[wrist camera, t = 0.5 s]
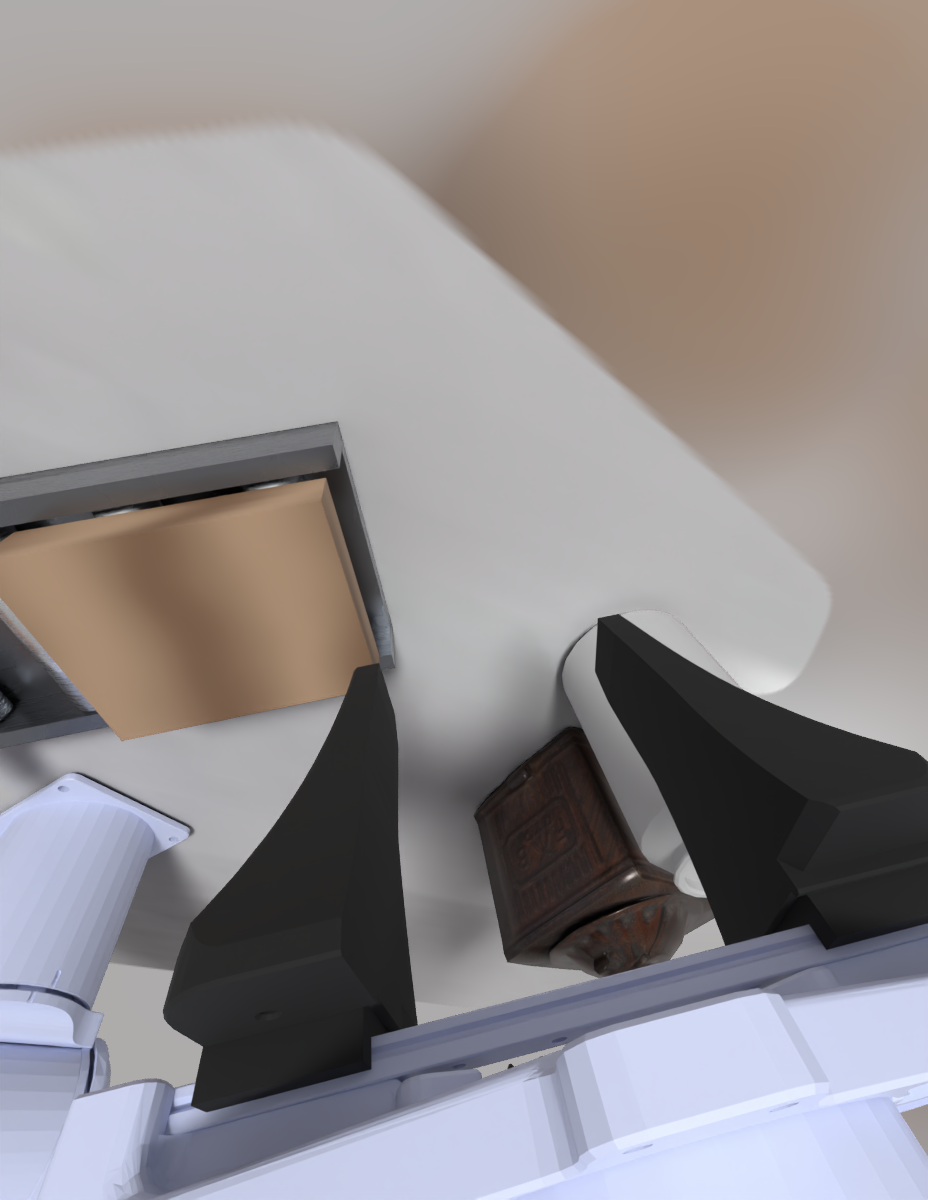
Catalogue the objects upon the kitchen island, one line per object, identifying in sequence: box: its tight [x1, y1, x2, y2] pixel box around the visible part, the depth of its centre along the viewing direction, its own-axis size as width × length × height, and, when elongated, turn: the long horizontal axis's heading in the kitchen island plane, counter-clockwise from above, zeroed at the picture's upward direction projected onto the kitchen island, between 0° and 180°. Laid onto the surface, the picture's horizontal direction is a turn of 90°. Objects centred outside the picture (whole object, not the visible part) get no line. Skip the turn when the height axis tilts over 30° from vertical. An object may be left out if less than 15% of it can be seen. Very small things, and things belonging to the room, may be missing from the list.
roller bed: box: [0, 422, 395, 748], centre depth 18 cm, size 20×10×6 cm, turn 97°
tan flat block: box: [0, 478, 379, 741], centre depth 17 cm, size 10×8×2 cm
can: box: [562, 610, 743, 898], centre depth 22 cm, size 8×8×12 cm
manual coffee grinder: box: [474, 727, 715, 1069], centre depth 28 cm, size 16×11×18 cm
